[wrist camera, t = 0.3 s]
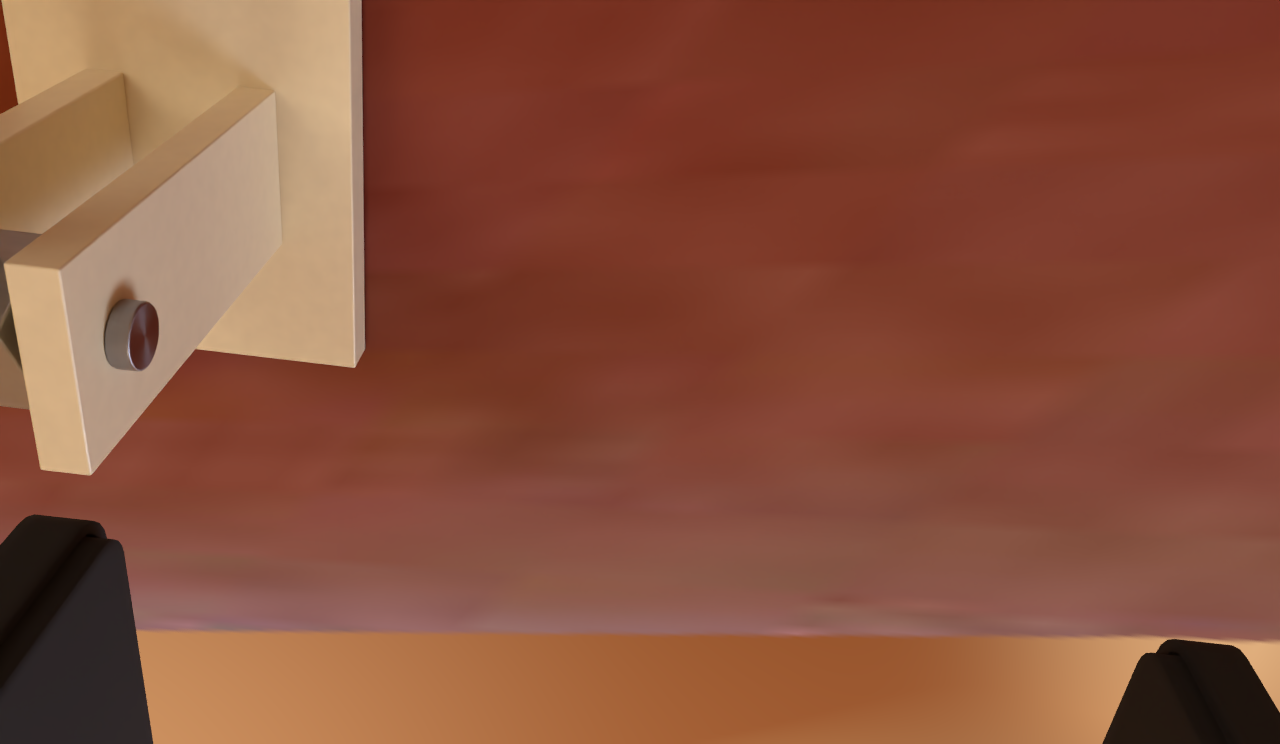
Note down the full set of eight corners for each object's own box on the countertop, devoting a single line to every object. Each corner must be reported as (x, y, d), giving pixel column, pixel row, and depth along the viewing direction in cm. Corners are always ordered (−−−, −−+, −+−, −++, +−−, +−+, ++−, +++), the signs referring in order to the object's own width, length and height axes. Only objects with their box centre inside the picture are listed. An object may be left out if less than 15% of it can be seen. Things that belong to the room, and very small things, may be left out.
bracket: (10, -103, 29) (-422, -5, 18) (361, -59, 29) (152, 66, 18) (73, 315, 35) (-222, 587, 24) (365, 349, 35) (209, 636, 24)
